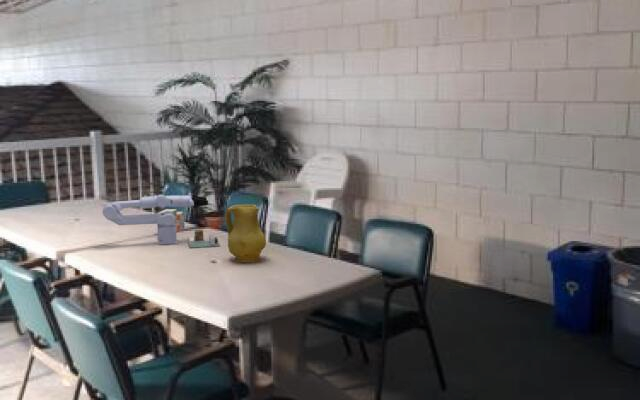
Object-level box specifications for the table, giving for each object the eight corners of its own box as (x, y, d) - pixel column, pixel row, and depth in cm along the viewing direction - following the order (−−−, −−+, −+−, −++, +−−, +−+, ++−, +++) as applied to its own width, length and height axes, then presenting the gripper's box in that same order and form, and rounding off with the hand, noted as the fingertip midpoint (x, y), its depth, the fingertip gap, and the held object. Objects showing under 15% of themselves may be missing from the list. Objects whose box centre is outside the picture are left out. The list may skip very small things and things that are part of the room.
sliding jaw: (210, 245, 321) (210, 239, 321) (209, 240, 331) (208, 235, 330) (218, 244, 322) (218, 238, 322) (216, 240, 332) (216, 234, 331)
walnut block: (195, 241, 333) (195, 231, 333) (194, 239, 338) (194, 229, 337) (203, 240, 334) (203, 231, 334) (202, 238, 339) (202, 229, 338)
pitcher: (235, 265, 284) (235, 208, 282) (221, 258, 300) (220, 204, 298) (272, 261, 292) (271, 206, 289) (256, 255, 308) (255, 202, 306)
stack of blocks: (174, 227, 369) (173, 206, 367) (184, 227, 368) (183, 206, 366) (157, 235, 348) (156, 212, 346) (168, 235, 347) (167, 213, 345)
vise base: (189, 248, 318) (189, 241, 317) (188, 243, 329) (187, 236, 329) (220, 246, 321) (220, 239, 321) (217, 241, 333) (217, 234, 332)
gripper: (181, 195, 321) (208, 195, 325) (179, 191, 335) (206, 191, 339) (180, 209, 323) (208, 209, 326) (179, 204, 336) (205, 204, 340)
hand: (207, 201), depth 333 cm, fingers open, 7 cm apart
